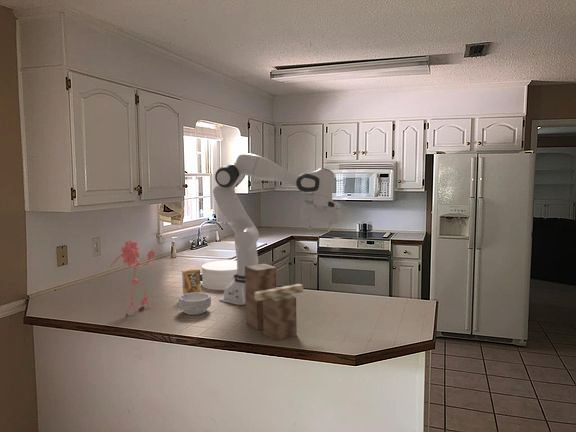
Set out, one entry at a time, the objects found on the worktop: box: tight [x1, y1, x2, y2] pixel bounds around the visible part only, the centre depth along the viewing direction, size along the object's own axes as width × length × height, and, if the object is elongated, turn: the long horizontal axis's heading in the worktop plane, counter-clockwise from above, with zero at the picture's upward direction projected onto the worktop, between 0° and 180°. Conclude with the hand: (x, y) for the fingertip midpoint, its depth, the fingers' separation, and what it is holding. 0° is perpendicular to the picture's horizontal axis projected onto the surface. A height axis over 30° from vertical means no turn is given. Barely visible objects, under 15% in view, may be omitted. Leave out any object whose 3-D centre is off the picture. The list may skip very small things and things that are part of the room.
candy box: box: [181, 268, 202, 295], centre depth 252 cm, size 9×4×15 cm, turn 119°
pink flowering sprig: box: [110, 239, 160, 315], centre depth 232 cm, size 15×26×35 cm, turn 157°
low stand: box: [263, 294, 298, 341], centre depth 197 cm, size 10×10×17 cm
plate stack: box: [201, 259, 237, 291], centre depth 282 cm, size 28×28×12 cm
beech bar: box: [254, 283, 304, 301], centre depth 196 cm, size 22×3×3 cm, turn 123°
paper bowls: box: [178, 292, 212, 316], centre depth 229 cm, size 15×15×8 cm
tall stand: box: [245, 263, 278, 331], centre depth 209 cm, size 10×10×26 cm
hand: (318, 230), depth 229 cm, fingers open, 8 cm apart
